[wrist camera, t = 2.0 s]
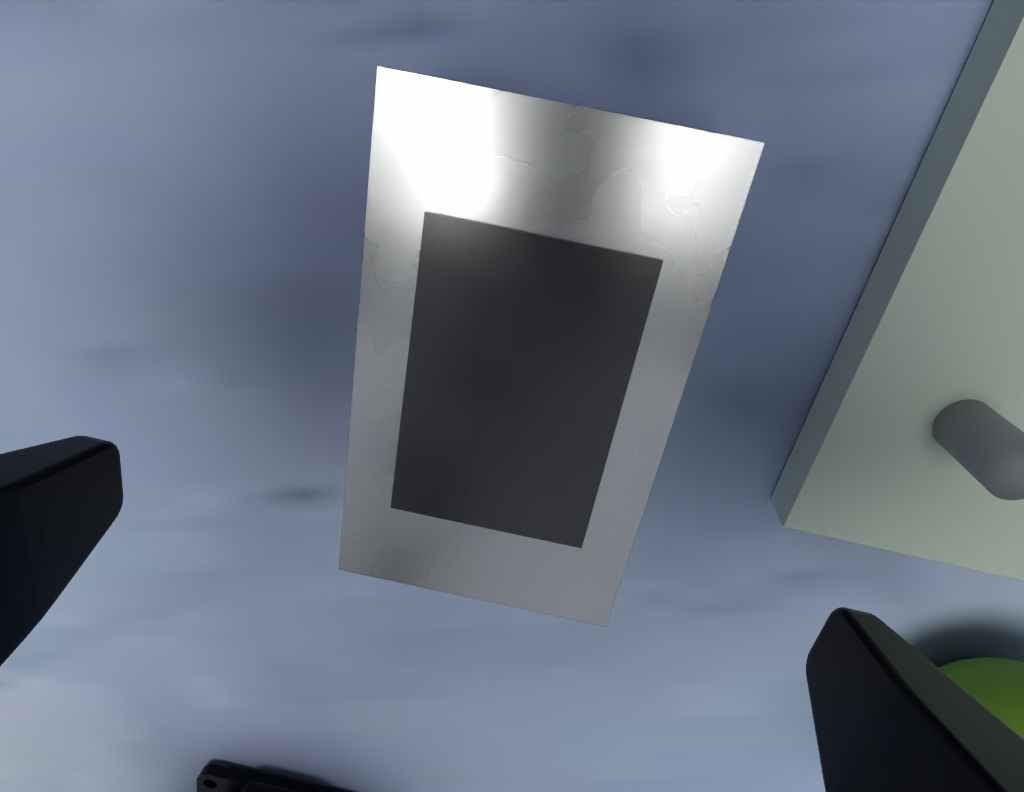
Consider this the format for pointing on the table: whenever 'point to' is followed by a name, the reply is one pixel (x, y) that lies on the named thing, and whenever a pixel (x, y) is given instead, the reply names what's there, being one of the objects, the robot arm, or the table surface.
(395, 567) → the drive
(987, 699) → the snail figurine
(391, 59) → the table surface
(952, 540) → the peg board
